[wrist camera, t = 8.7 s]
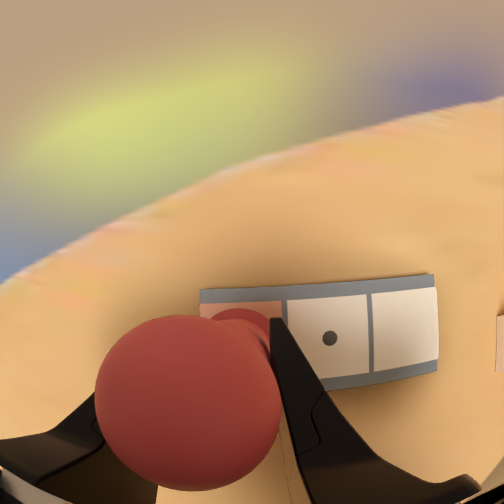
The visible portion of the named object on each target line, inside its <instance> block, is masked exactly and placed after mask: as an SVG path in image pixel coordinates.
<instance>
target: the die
mask: <svg viewBox="0 0 504 504" xmlns="http://www.w3.org/2000/svg"><path fill="white" fill-rule="evenodd" d="M495 371H497V372H502V373H504V315H501V316H497V352H496V369H495Z"/></svg>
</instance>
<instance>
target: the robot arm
mask: <svg viewBox="0 0 504 504" xmlns="http://www.w3.org/2000/svg"><path fill="white" fill-rule="evenodd" d="M269 344H270V363H271V369H272V371H273V373H274V376H275V378H276V381H277V384H278V388H279V391H280V398H281V418H280V424H279V431H280V437H281V443H282V450H283V456H284V462H285V468H286V474H287V480H288V485H289V493H290V499H291V504H460V501H462V500H464V499H466V498H468V497H470V496H472V495H474V494H475V493H477V492H479V491H480V490H481V489H482V488H481V486H480V485H479V483H477V481H475V480H474V479H473V478H472V477H470V476H469V475H468V474H462V475H460V476H457V477H455V478H452V479H450V480H448V481H445V482H442V483H431V482H427V481H424V480H422V479H420V478H418V477H416V476H414V475H412V474H410V473H408V472H406V471H404V470H402V469H400V468H398V467H396V466H394V465H393V464H391V463H389V462H387V461H385V460H384V459H382V458H381V457H380V456H378V455H377V454H376V453H375V452H374V451H373V450H372V449H371V448H370V447H369V446H368V444H367V443H366V442H365V441H364V440H363V439H362V438H361V436H360V435H359V434H358V433H357V432H356V430H355V429H354V428H353V427H352V426H351V425H350V423H349V422H348V421H347V420H346V418H345V417H344V416H343V415H342V413H341V412H340V411H339V409H338V408H337V406H336V405H335V403H334V402H333V400H332V399H331V397H330V396H329V394H328V392H327V391H326V390H325V388H324V386H323V384H322V383H321V381H320V379H319V378H318V376H317V375H316V373H315V371H314V370H313V368H312V366H311V365H310V363H309V361H308V360H307V358H306V357H305V355H304V353H303V352H302V350H301V348H300V347H299V345H298V343H297V342H296V340H295V338H294V337H293V335H292V334H291V332H290V330H289V329H288V327H287V325H286V324H285V322H284V320H283V319H282V318H281V317H270V318H269ZM0 466H1V467H3V469H2V470H1V469H0V504H156V497H157V490H158V485H157V484H155V483H152V482H150V481H148V480H146V479H144V478H143V477H141V476H139V475H138V474H136V473H135V472H133V471H132V470H131V469H129V468H128V467H127V466H126V465H125V464H124V463H123V462H122V461H121V460H120V459H119V458H118V457H117V456H116V455H115V453H114V452H113V451H112V449H111V448H110V446H109V445H108V443H107V442H106V440H105V438H104V436H103V434H102V432H101V429H100V427H99V424H98V420H97V416H96V411H95V391H94V392H93V394H92V395H91V396H90V397H89V398H88V399H87V400H85V401H84V402H83V403H82V404H81V405H80V406H79V407H78V408H77V409H75V410H74V411H73V412H72V413H71V414H70V415H69V416H67V417H66V418H65V419H64V420H63V421H62V422H60V423H59V424H58V425H57V426H56V427H54V428H53V429H51V430H49V431H47V432H44V433H40V434H34V435H29V436H23V437H17V438H11V439H3V440H0ZM462 504H504V482H503V483H501V484H500V485H498V486H495V487H493V488H491V489H490V490H488V491H486V492H484V493H482V494H480V495H478V496H476V497H474V498H472V499H470V500H468V501H466V502H464V503H462Z"/></svg>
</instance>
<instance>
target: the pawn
mask: <svg viewBox="0 0 504 504" xmlns="http://www.w3.org/2000/svg"><path fill="white" fill-rule="evenodd" d="M95 411H96V416H97V420H98V424H99V427H100V429H101V432H102V434H103V436H104V438H105V440H106V442H107V443H108V445H109V446H110V448H111V449H112V451H113V452H114V453H115V455H116V456H117V457H118V458H119V459H120V460H121V461H122V462H123V463H124V464H125V465H126V466H127V467H128V468H129V469H131V470H132V471H133V472H135V473H136V474H138V475H139V476H141V477H143V478H144V479H146V480H148V481H150V482H152V483H155V484H157V485H160V486H163V487H166V488H169V489H174V490H180V491H206V490H212V489H217V488H220V487H223V486H226V485H229V484H231V483H233V482H235V481H237V480H239V479H241V478H242V477H244V476H245V475H247V474H248V473H250V472H251V471H252V470H253V469H254V468H255V467H256V466H257V465H258V464H259V463H260V462H261V461H262V460H263V459H264V457H265V456H266V455H267V454H268V452H269V450H270V448H271V446H272V444H273V443H274V441H275V438H276V435H277V433H278V430H279V424H280V418H281V398H280V391H279V388H278V384H277V381H276V378H275V376H274V373H273V371H272V369H271V363H270V344H269V319H268V318H267V317H265V316H264V315H262V314H261V313H259V312H256V311H253V310H250V309H243V308H233V309H228V310H224V311H222V312H219V313H217V314H216V315H214V316H213V317H211V318H210V319H208V318H204V317H199V316H193V315H173V316H166V317H161V318H157V319H153V320H150V321H148V322H145V323H143V324H141V325H139V326H137V327H136V328H134V329H132V330H130V331H129V332H128V333H126V334H125V335H124V336H123V337H121V338H120V339H119V340H118V341H117V343H116V344H115V345H114V346H113V347H112V348H111V349H110V351H109V352H108V354H107V355H106V357H105V359H104V361H103V363H102V365H101V367H100V370H99V373H98V376H97V380H96V385H95Z"/></svg>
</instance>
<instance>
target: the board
mask: <svg viewBox="0 0 504 504" xmlns="http://www.w3.org/2000/svg"><path fill="white" fill-rule="evenodd" d="M233 308H243V309H250V310H253V311H256V312H259V313H261V314H262V315H264V316H265V317H267V318H268V319H269V318H270V317H281V318H282V319H283V320H284V322H285V324H286V325H287V327H288V329H289V330H290V332H291V334H292V335H293V337H294V338H295V340H296V342H297V343H298V345H299V347H300V348H301V350H302V352H303V353H304V355H305V357H306V358H307V360H308V361H309V363H310V365H311V366H312V368H313V370H314V371H315V373H316V375H317V376H318V378H319V379H320V381H321V383H322V384H323V386H324V388H325V390H326V391H330V390H339V389H346V388H354V387H360V386H367V385H373V384H379V383H384V382H390V381H395V380H400V379H404V378H409V377H414V376H418V375H422V374H426V373H431V372H434V371H437V359H439V331H438V307H437V292H436V287H435V283H434V274H428V275H418V276H408V277H397V278H386V279H375V280H363V281H350V282H337V283H323V284H307V285H291V286H273V287H253V288H230V289H201V290H200V304H199V314H200V317H204V318H208V319H210V318H211V317H213V316H214V315H216V314H217V313H219V312H222V311H224V310H228V309H233Z"/></svg>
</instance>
